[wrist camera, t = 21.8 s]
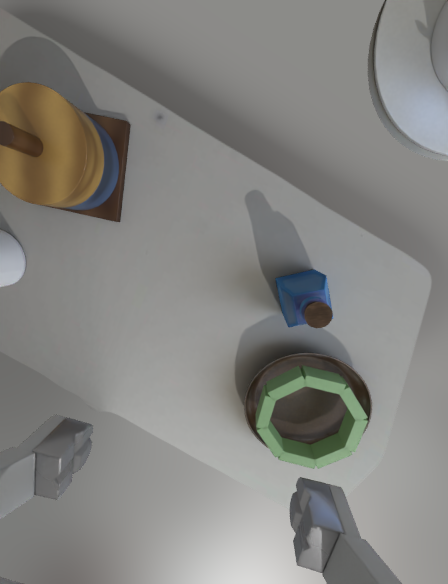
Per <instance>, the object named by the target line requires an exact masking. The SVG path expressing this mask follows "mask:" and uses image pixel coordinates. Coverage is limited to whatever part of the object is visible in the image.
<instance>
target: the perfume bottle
mask: <svg viewBox="0 0 448 584" xmlns="http://www.w3.org/2000/svg"><path fill="white" fill-rule="evenodd" d="M275 279H276V284H277V289H278V294H279V298H280V303H281V308H282V313H283V316H284V318H285V320H286V322H287V325H288V327H293V326H298V325H303V324H308V325H309V326H311V327H314V328H322V327H325V326H326V325H328V324H329V323H330V321H331V319H333V313H332V307H331V301H330V295H329V289H328V283H327V278H326V275H324V274H322V273H320V272H318V271H316V270H310V271H305V272H301V273H296V274H292V275H288V276H283V277H279V278H275Z"/></svg>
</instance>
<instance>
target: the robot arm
mask: <svg viewBox="0 0 448 584" xmlns="http://www.w3.org/2000/svg"><path fill="white" fill-rule="evenodd" d="M431 55H432V63H433V67H434V70H435V73H436V75H437V77H438V79H439V81H440V82H441V84H442V85H443V86H444V87H445V89H446V90H447V92H448V0H447V1H446V3H445V5H444V6H443V8H442V10H441V12H440V14H439V16H438V19H437V21H436V24H435V27H434V31H433V36H432V44H431ZM92 433H93V425H91V424H89V423H85V422H81V421H78V420H75V419H71V418H67V417H63V416H60V415H54V416H52V417H50V418H49V419H48V420H47V421H46V422H45V423H44V424H42V425H41V426H40V427H39V428H38V429H37V430H36V431H35V432H34V433H33V434H32V435H30V436H29V437H28V438H27V439H26V440H25V441H24V442H23V443H22V444H21V445H20V446H18V447H17V448H16V447H12V448H9V449H7V450H4V451H2V452H0V519H1V518H3V517H4V516H5V515H7V514H9V513H10V512H11V511H13V510H14V509H16V508H17V507H19V506H20V505H22V504H23V503H25V502H26V501H28V500H29V499H31V498H32V497H34V495H38V496H43V497H47V498H51V499H56V500H59V498H60V497H61V495H62V494H63V493H64V491H65V490H66V489H67V487H68V486H69V484H70V483H71V482H72V474H74V473H75V472H77V471H79V470H80V469H81V468H82V466H83V465H84V463H85V462H86V460H87V458H88V456H89V454H90V450H91V446H92V441H91V440H90V438H89V437H90V435H91V434H92ZM296 487H297V492H295V493H293V495H292V498H291V502H290V521H291V526H292V528H293V529H294V531H295V533H296V535H295V538H294V540H293V542H294V549H295V556H296V562H297V565H298V566H301V567H305V568H308V569H311V570H314V571H317V572H320V573H323V577H324V579H325V580H326V582H327V584H402V583H401V582H400V581H399V579H398V578H397V577H396V576H395V575H394V573H393V572H392V571H391V570H390V569H389V567H388V566H387V565H386V564H385V563H384V561H383V560H382V559H381V558H380V557H379V555H378V554H377V553H376V552H375V551H374V549H373V548H372V547H371V546H370V545H369V543H368V542H367V541H366V540H364V539H361V537H360V534H359V531H358V529H357V526H356V523H355V521H354V518H353V515H352V513H351V510H350V508H349V505H348V502H347V500H346V497H345V494H344V492H343V490H342V488H341V487H338V486H334V485H330V484H326V483H322V482H318V481H314V480H310V479H306V478H301V477H300V478H299V479H298V481H297V483H296ZM0 584H23V583H19V582H16V581H12V580H9V579H5V578H2V577H0Z"/></svg>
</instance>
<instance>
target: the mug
mask: <svg viewBox="0 0 448 584" xmlns="http://www.w3.org/2000/svg"><path fill="white" fill-rule="evenodd" d="M25 268H26V259H25V254H24V251H23V249H22V247H21V245H20V244H19V242H18V241H17V240H16V239H15V238H14V237H13V236H12V235H10V234H9V233H7V232H5V231H3V230H0V287H3V286H8V285H11V284H14V283H16V282H17V281H19V280H20V278H21V277H22V276H23V274H24V271H25Z"/></svg>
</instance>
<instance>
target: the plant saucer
mask: <svg viewBox="0 0 448 584" xmlns="http://www.w3.org/2000/svg"><path fill="white" fill-rule="evenodd" d="M302 365H304V366H308V367H312V368H316V369H320V370H324V371H329V372H333V373H337V374H339V375H340V377H341V376H342V377H343V378H344V380H345V381H346V383H347V384H348V386H349V387H350V389H351V391H352V392H353V394H354V396H355V397H356V399H357V400H358V402H359V404H360V405H361V407H362V409H363V410H364V412H365V414H366V415H367V417H368V418H366V419H367V420H368V422H367V425H366V427H365V430H364V432H365V431H366V429H367V427H368V424H369V422H370V419H371V413H372V399H371V395H370V392H369V389H368V387H367V385H366V383H365V381H364V380H363V379H362V377H361V376H360V375H359V374H358V373H357V372H356V371H355V370H354V369H353V368H352V367H350V366H349V365H348V364H346V363H344V362H342V361H341V360H338V359H336V358H334V357H331V356H327V355H323V354H317V353H298V354H292V355H288V356H284V357H282V358H279V359H277V360H275V361H273V362H271V363H270V364H268V365H267V366H265V367H264V368H263V369H262V370H261V371H259V372H258V374H257V375H256V376H255V377H254V378H253V380H252V381H251V383H250V385H249V387H248V389H247V392H246V396H245V402H244V410H245V416H246V420H247V423H248V425H249V427H250V429H251V431H252V432H253V434H254V435H255V437H256V438H257V439H258V440H259V441H260V442H261V443H262V444H263V445H265V446H266V447H267V448H268V446H267V445H266V443H265V442H264V440H263V439H262V437H261V436H260V435H259V433H258V432H257V427H256V411H257V407H258V404H259V400H260V397H261V393H262V390H263V386H264V385H267V383H266V382H267V381H269V380H271V379H273V378H275V377H277V376H279V375H281V374H283V373H285V372H287V371H289V370H291V369H293V368H295V367H297V366H299V367H300V369H301V367H302ZM346 411H347V406H346V404H345V403H344V401H343V400H342V398H341V396H340V395H339V394H336V393H332V392H327V391H323V390H319V389H315V388H311V387H307V386H305V387H303V388H301V389H299V390H297V391H295V392H293V393H291V394H289V395H286V396H284V397H282V398H280V399H278V400H276V402H275V405H274V408H273V412H272V415H271V418H270V421H271V423H272V424H273V426H274V427H275V428H276V430H277V431H278V433H279V434H280V436H281V437H282V438H286V439H290V440H294V441H298V442H302V443H306V444H310V445H311V444H313V443H316V442H318V441H320V440H323V439H325V438H327V437H330V436H332V435H334V434H336V433H338V431H339V429H340V426H341V424H342V421H343V419H344V416H345V413H346ZM364 432H363V434H364ZM363 434H362V435H363Z"/></svg>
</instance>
